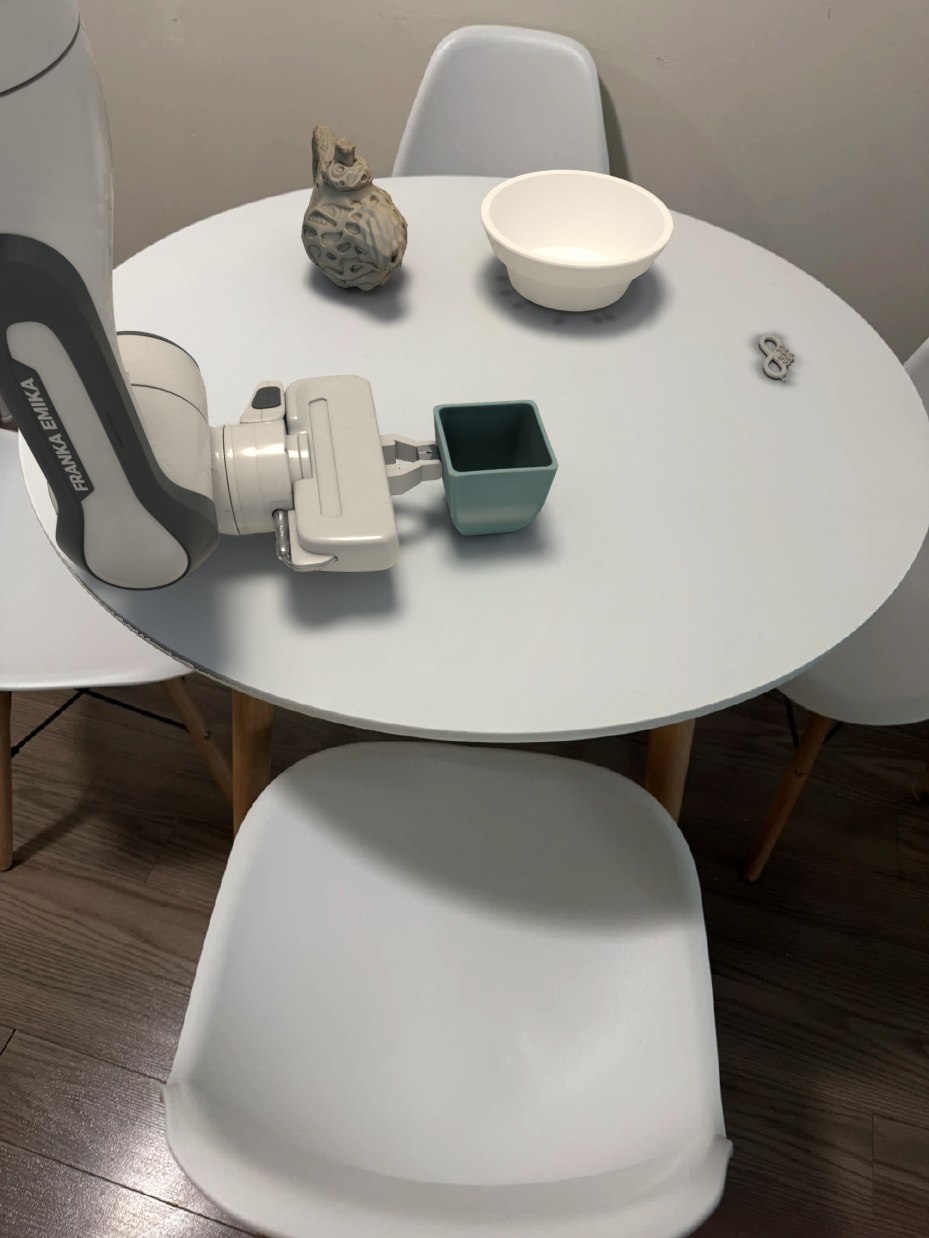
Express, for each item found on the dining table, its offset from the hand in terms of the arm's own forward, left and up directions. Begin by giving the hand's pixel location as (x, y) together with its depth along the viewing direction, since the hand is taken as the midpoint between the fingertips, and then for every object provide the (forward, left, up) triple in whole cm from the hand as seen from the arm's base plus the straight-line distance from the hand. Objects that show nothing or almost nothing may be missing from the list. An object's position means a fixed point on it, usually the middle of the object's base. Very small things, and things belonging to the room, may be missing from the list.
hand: (439, 459), depth 73 cm
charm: (+39, +18, -6) cm, 44 cm away
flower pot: (+4, -1, -6) cm, 8 cm away
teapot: (-3, +40, -7) cm, 40 cm away
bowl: (+21, +35, -6) cm, 41 cm away
